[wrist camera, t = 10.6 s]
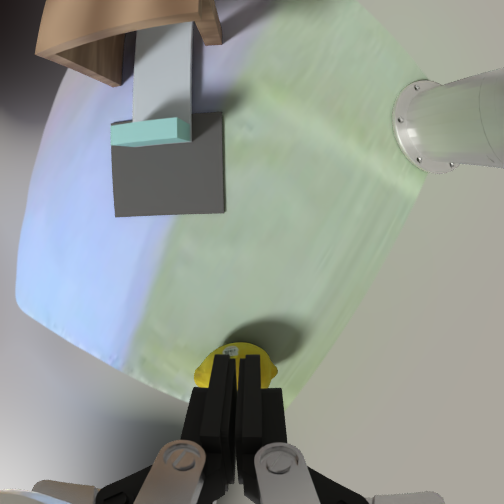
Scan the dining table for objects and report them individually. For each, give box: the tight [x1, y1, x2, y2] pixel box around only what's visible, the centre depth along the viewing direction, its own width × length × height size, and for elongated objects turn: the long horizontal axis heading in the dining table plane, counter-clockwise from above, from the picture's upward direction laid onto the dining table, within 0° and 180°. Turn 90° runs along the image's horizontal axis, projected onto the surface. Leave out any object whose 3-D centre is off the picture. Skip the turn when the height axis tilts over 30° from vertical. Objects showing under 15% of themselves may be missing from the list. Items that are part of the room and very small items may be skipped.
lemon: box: [194, 342, 278, 390], centre depth 38 cm, size 11×8×8 cm
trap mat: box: [111, 112, 224, 217], centre depth 34 cm, size 14×12×1 cm
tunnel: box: [35, 0, 222, 87], centre depth 22 cm, size 14×10×16 cm
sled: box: [111, 21, 193, 147], centre depth 27 cm, size 8×22×7 cm, turn 1°
